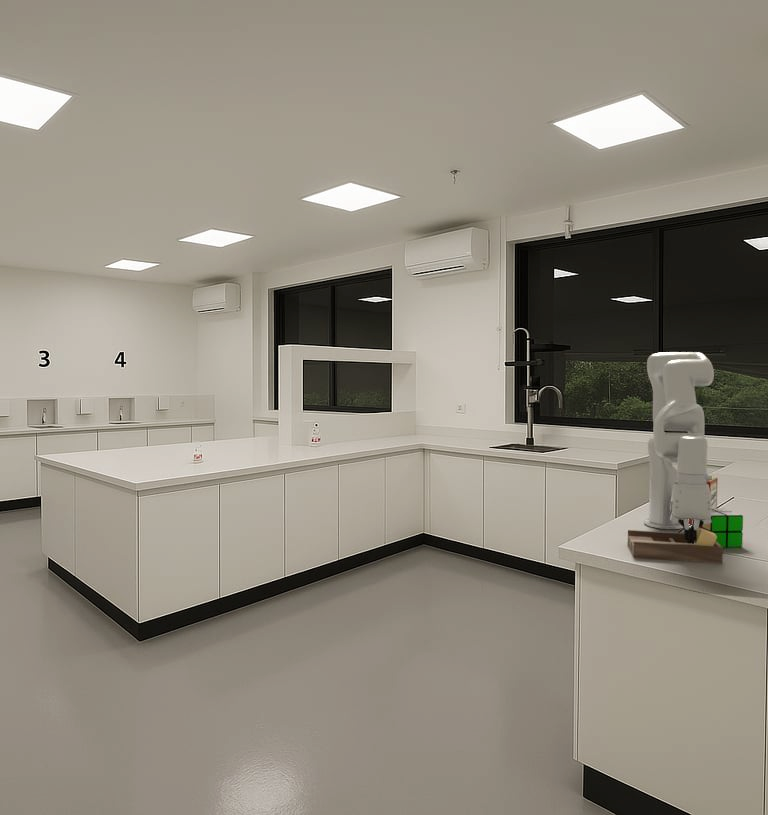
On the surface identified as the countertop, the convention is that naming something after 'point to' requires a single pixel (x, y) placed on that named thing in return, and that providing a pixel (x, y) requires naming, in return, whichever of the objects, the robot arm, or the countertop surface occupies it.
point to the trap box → (671, 547)
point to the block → (705, 538)
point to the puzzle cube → (726, 527)
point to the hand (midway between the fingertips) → (690, 542)
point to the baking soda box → (711, 494)
